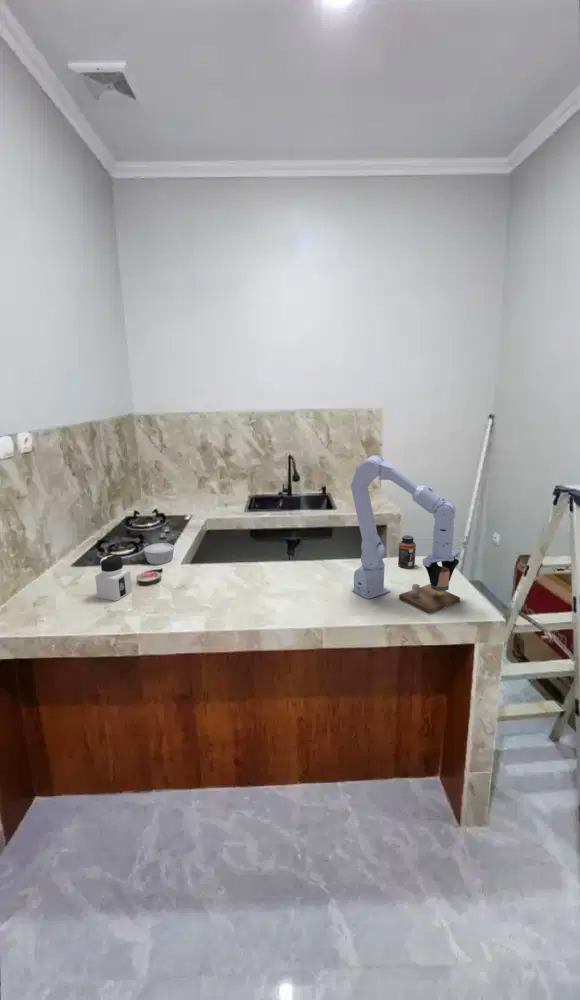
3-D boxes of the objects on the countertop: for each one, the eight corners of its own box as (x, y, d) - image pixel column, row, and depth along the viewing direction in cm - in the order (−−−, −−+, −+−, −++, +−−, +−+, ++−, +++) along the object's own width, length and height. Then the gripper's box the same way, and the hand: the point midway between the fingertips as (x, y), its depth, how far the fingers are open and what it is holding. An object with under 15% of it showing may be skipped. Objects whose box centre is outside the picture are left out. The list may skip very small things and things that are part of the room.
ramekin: (181, 558, 185) (180, 545, 184) (159, 568, 176) (158, 554, 175) (161, 553, 191) (159, 541, 190) (139, 562, 182) (137, 549, 181)
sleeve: (440, 592, 142) (441, 573, 141) (427, 586, 146) (428, 568, 145) (451, 588, 145) (452, 570, 143) (438, 582, 149) (439, 565, 148)
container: (132, 591, 156) (128, 554, 153) (117, 601, 149) (112, 563, 146) (113, 588, 159) (109, 552, 156) (97, 598, 152) (92, 560, 149)
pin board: (428, 614, 139) (429, 598, 137) (398, 598, 148) (399, 584, 147) (459, 601, 146) (461, 587, 145) (429, 588, 156) (430, 574, 155)
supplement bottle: (415, 569, 171) (416, 540, 168) (398, 568, 172) (399, 539, 170) (414, 563, 177) (415, 534, 174) (397, 562, 178) (399, 533, 175)
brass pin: (439, 603, 145) (440, 588, 144) (433, 600, 147) (434, 585, 146) (443, 601, 146) (444, 586, 145) (438, 599, 148) (439, 584, 147)
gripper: (437, 549, 135) (434, 593, 138) (469, 539, 142) (466, 581, 146) (418, 542, 140) (415, 585, 144) (450, 533, 148) (447, 574, 151)
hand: (439, 582), depth 145 cm, fingers closed on sleeve, 5 cm apart
